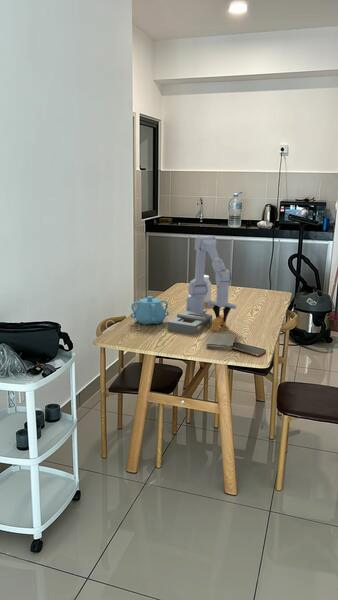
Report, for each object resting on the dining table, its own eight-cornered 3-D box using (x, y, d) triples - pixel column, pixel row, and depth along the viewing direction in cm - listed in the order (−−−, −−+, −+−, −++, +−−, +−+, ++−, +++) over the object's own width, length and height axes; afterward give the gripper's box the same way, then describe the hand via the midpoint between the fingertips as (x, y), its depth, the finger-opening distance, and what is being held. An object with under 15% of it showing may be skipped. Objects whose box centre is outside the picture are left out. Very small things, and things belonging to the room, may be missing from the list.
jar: (190, 301, 288) (190, 276, 285) (194, 297, 297) (195, 273, 293) (208, 302, 285) (209, 278, 281) (212, 299, 294) (213, 275, 290)
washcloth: (205, 349, 208) (205, 343, 208) (210, 337, 225) (210, 330, 225) (232, 352, 206) (233, 345, 205) (235, 339, 223) (236, 332, 222)
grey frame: (167, 329, 234) (167, 318, 233) (185, 318, 253) (185, 308, 252) (195, 334, 228) (195, 323, 226) (211, 322, 247) (212, 311, 245)
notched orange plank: (217, 331, 232) (217, 321, 231) (211, 330, 233) (212, 320, 232) (225, 324, 242) (226, 315, 241) (220, 323, 244) (220, 314, 242)
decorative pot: (134, 329, 234) (134, 302, 231) (127, 317, 252) (127, 293, 249) (173, 326, 239) (174, 300, 236) (163, 315, 257) (163, 291, 254)
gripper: (205, 294, 236) (204, 320, 239) (233, 298, 230) (232, 325, 233) (211, 291, 242) (210, 317, 245) (238, 295, 236) (236, 321, 239)
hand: (221, 320), depth 240 cm, fingers closed on notched orange plank, 3 cm apart
